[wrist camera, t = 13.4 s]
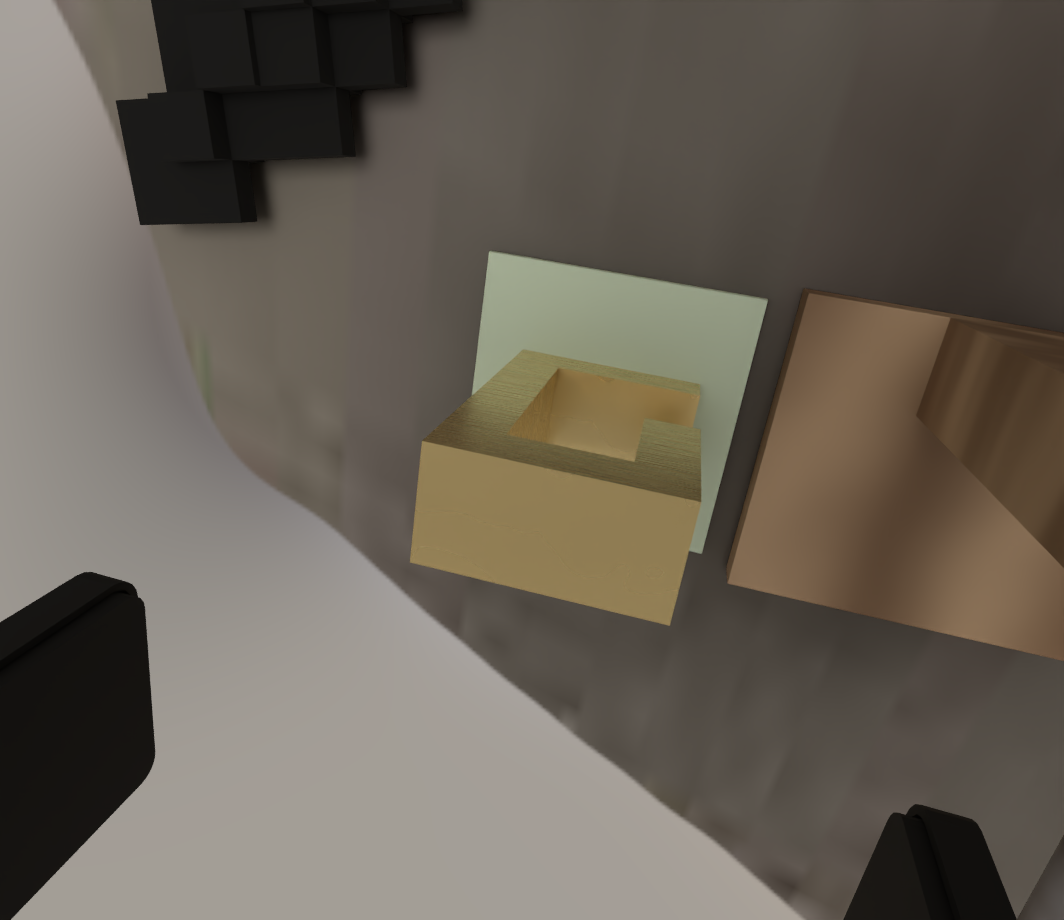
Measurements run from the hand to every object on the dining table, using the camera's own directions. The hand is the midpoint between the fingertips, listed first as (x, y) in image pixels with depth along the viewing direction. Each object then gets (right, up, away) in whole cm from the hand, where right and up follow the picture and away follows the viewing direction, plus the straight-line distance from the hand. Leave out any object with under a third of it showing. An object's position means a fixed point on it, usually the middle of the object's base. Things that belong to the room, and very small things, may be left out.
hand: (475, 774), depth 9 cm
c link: (+3, +6, +16) cm, 17 cm away
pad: (+3, +6, +17) cm, 18 cm away
